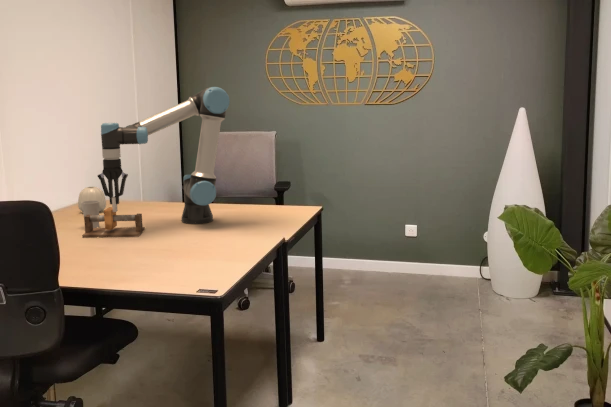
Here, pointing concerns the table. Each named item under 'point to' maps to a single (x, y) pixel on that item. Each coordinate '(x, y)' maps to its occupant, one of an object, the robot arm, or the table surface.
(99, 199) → the vase
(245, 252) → the table surface
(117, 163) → the robot arm
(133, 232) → the pipe stand
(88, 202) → the cup
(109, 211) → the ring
